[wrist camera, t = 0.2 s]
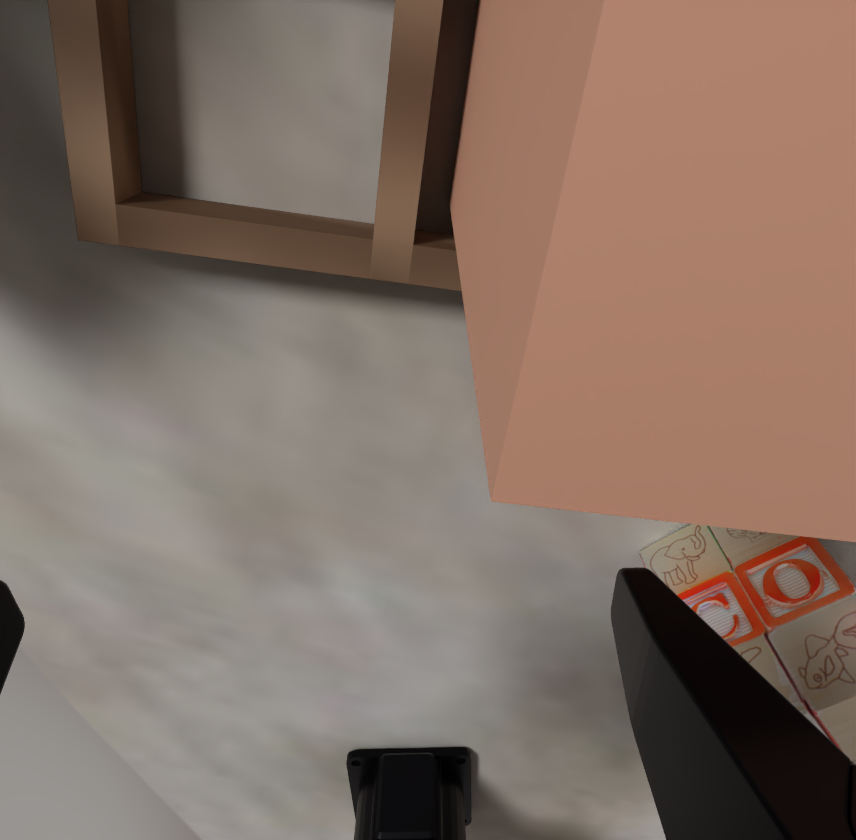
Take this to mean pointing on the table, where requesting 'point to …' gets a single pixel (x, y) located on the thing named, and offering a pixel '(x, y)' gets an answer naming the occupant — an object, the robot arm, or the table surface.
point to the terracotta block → (664, 258)
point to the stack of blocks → (773, 613)
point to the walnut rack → (233, 224)
